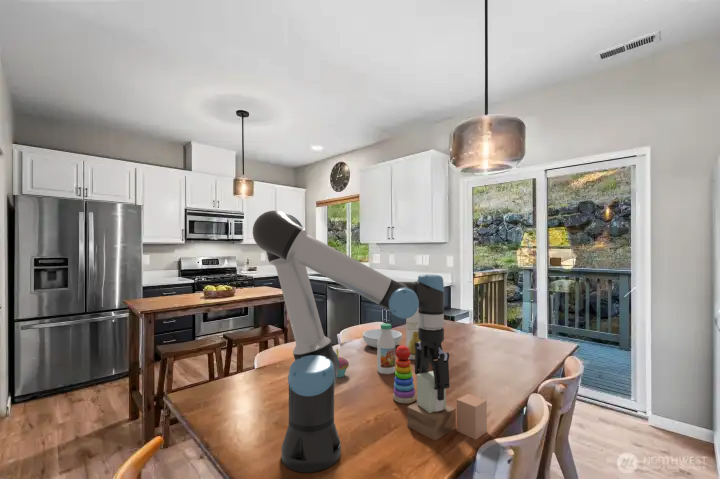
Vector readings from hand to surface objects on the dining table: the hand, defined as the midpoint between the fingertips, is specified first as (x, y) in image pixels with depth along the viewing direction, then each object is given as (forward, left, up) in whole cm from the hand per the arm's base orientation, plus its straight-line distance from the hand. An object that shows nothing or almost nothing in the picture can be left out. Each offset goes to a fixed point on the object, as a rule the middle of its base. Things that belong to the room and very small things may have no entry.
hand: (431, 405), depth 102 cm
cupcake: (-9, +50, -7) cm, 51 cm away
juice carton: (+33, +54, -7) cm, 64 cm away
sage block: (0, 0, 0) cm, 0 cm away
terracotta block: (+9, -7, -6) cm, 13 cm away
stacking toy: (+3, +19, -7) cm, 20 cm away
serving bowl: (+28, +78, -7) cm, 83 cm away
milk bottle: (+11, +45, -7) cm, 47 cm away
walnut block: (0, 0, -7) cm, 7 cm away
